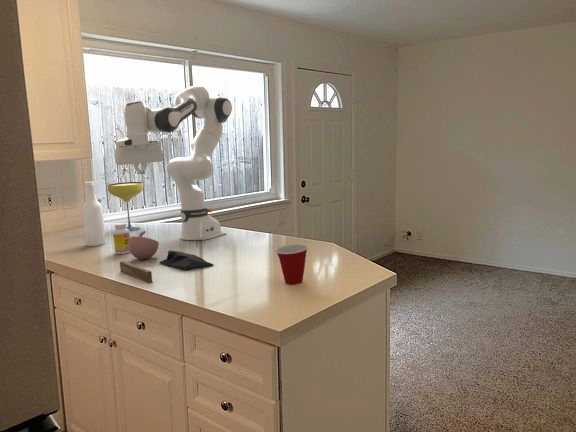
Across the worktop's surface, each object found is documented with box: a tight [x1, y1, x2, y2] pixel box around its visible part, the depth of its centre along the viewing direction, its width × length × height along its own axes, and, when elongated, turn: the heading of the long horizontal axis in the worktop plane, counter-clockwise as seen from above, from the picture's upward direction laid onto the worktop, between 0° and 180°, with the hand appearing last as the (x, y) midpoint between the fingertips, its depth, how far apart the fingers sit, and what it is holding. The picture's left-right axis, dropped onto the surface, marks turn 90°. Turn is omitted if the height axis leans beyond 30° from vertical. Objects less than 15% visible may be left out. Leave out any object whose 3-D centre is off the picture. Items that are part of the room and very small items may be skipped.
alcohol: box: [81, 180, 107, 247], centre depth 232 cm, size 9×9×30 cm
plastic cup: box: [275, 243, 309, 286], centre depth 162 cm, size 11×11×12 cm
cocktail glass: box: [107, 181, 144, 232], centre depth 266 cm, size 18×18×25 cm
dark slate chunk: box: [159, 250, 215, 272], centre depth 192 cm, size 15×22×5 cm
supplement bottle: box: [112, 222, 131, 255], centre depth 215 cm, size 7×7×13 cm
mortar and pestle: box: [128, 230, 160, 260], centre depth 203 cm, size 12×12×11 cm
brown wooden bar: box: [119, 260, 153, 284], centre depth 177 cm, size 2×22×4 cm, turn 43°
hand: (141, 174), depth 207 cm, fingers closed
